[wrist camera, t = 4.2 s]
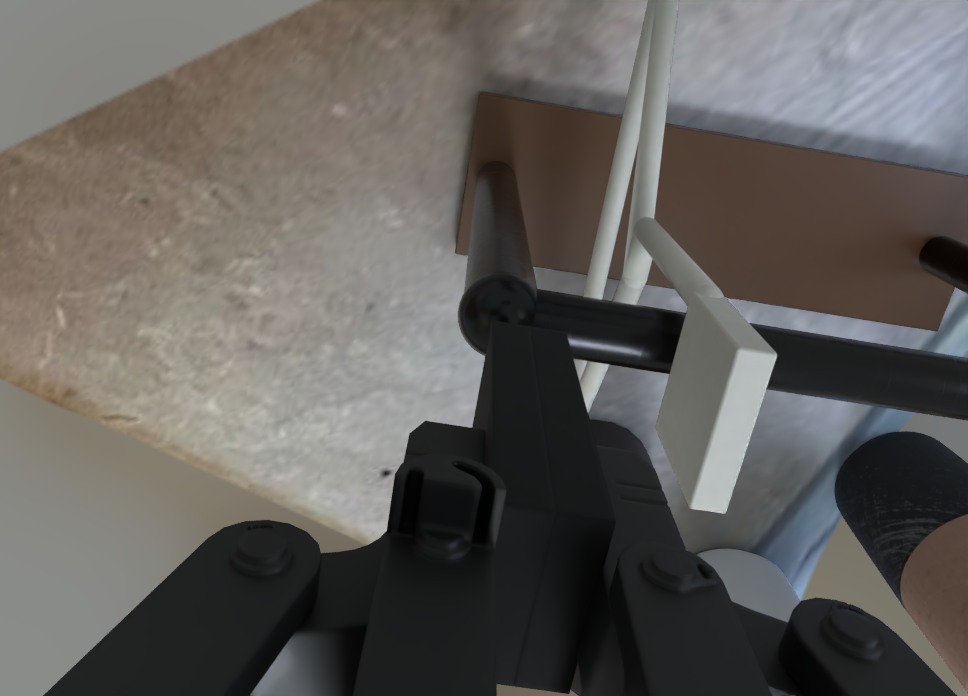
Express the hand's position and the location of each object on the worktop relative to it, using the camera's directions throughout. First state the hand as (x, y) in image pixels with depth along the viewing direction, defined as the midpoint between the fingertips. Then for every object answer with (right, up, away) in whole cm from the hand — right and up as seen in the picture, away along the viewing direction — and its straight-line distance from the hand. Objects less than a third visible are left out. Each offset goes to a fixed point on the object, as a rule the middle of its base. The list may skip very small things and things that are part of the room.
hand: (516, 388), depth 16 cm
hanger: (+4, +6, +16) cm, 18 cm away
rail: (+11, +8, +25) cm, 28 cm away
